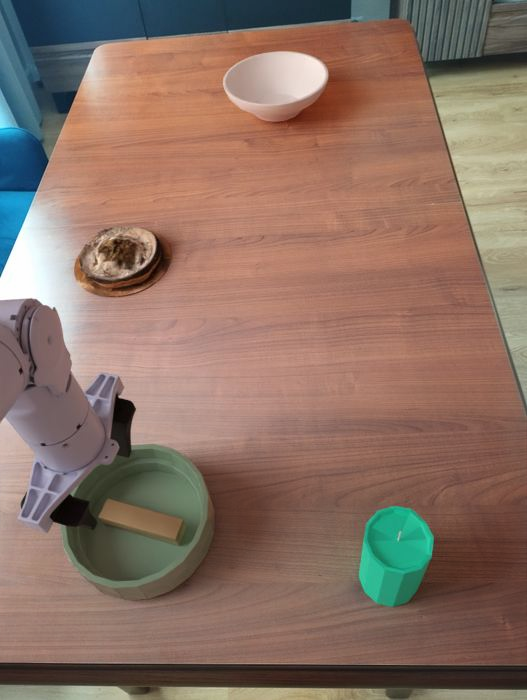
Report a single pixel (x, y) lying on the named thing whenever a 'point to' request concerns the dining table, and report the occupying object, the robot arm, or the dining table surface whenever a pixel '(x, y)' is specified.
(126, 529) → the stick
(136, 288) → the brown mottled round dish
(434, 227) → the dining table surface
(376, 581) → the candle
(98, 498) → the mixing bowl
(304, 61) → the bowl
